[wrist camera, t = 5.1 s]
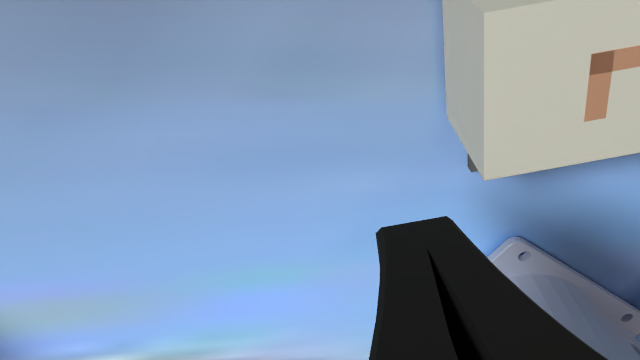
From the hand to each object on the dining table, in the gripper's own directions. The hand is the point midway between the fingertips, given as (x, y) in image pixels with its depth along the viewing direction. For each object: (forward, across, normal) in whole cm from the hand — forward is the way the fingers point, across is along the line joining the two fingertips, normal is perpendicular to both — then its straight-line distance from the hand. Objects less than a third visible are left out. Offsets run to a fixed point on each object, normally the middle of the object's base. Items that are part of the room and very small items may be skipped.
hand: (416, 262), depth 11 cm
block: (+8, -7, 0) cm, 10 cm away
